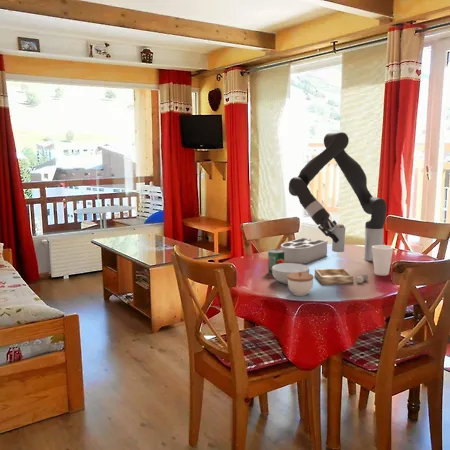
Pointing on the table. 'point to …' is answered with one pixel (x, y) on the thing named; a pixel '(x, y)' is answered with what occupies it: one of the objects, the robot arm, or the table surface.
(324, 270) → the birch tray
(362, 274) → the pebble
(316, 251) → the ice cube tray
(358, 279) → the pebble
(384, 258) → the foam cup
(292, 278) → the lidded jar
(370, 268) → the table surface
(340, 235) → the pebble jar
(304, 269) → the cereal bowl
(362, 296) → the table surface
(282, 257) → the canned tomato
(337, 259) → the table surface
